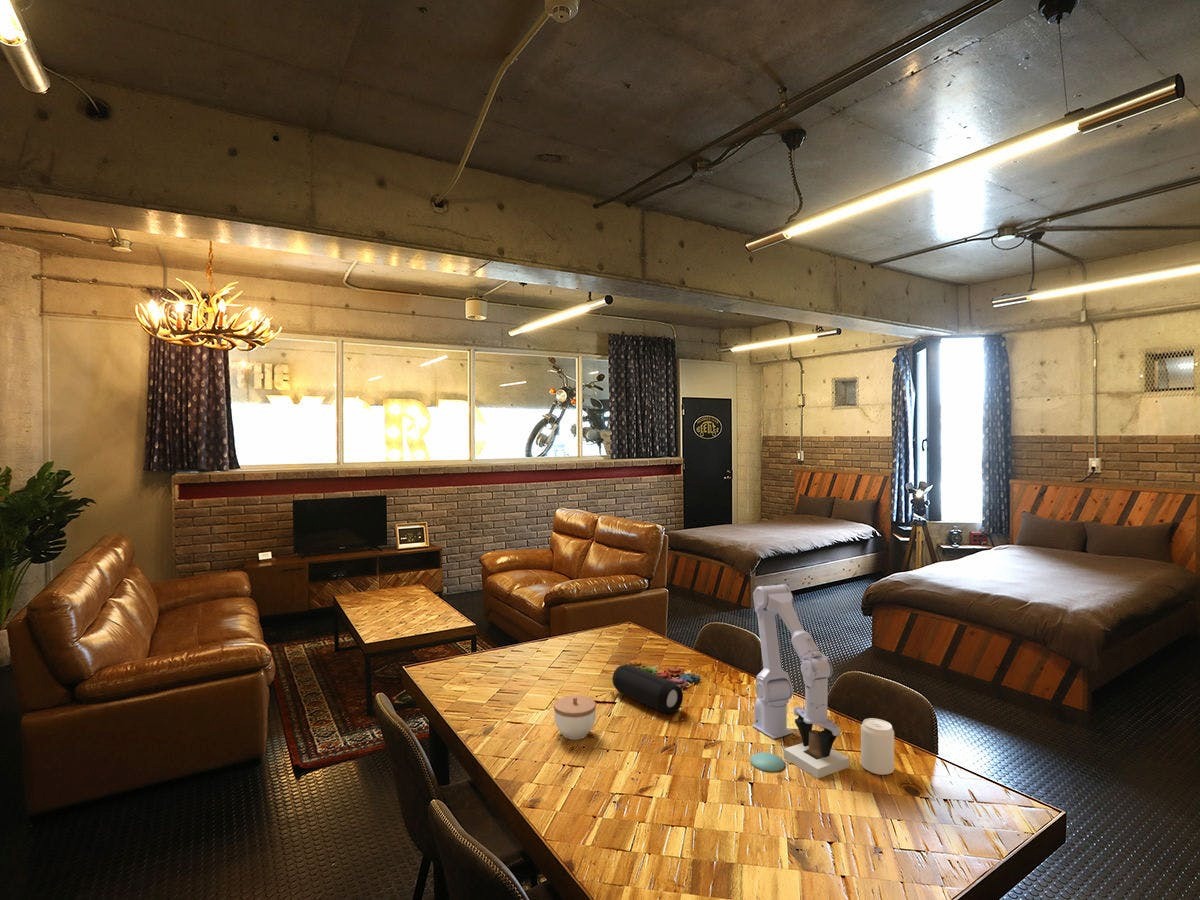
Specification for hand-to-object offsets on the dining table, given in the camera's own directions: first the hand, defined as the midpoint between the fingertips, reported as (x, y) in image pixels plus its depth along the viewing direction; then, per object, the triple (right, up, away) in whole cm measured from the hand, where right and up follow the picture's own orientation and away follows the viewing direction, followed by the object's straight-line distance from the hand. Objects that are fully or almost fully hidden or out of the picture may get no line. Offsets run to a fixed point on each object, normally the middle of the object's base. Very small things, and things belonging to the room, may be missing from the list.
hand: (816, 750), depth 168 cm
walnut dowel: (0, -3, 0) cm, 3 cm away
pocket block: (0, -3, 0) cm, 3 cm away
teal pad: (-13, -3, 0) cm, 14 cm away
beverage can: (+15, -4, -3) cm, 16 cm away
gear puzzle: (-37, -3, +64) cm, 74 cm away
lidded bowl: (-67, -3, +17) cm, 69 cm away
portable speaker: (-44, -3, +39) cm, 59 cm away
